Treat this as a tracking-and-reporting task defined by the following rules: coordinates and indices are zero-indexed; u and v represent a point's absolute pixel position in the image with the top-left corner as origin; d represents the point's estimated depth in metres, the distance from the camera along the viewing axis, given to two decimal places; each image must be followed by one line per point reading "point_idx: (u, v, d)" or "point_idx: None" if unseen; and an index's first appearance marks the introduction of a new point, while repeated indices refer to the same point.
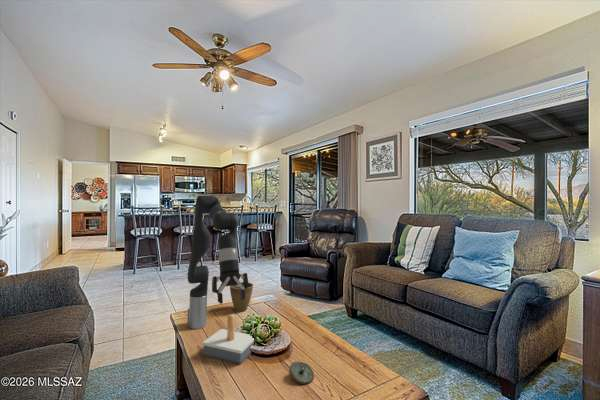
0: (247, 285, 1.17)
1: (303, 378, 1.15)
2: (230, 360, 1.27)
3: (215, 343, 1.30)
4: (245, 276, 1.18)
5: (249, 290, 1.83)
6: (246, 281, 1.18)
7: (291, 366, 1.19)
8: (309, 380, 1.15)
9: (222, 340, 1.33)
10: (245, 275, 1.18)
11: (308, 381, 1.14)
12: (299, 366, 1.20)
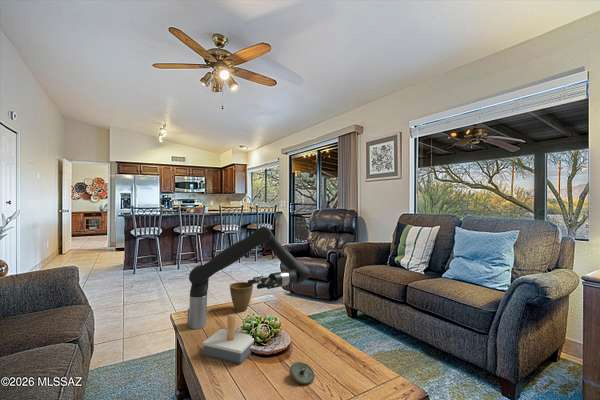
0: None
1: (304, 379, 1.15)
2: (230, 360, 1.27)
3: (215, 343, 1.30)
4: None
5: (249, 290, 1.83)
6: None
7: (291, 367, 1.18)
8: (310, 381, 1.14)
9: (222, 340, 1.33)
10: None
11: (309, 382, 1.14)
12: (299, 367, 1.20)
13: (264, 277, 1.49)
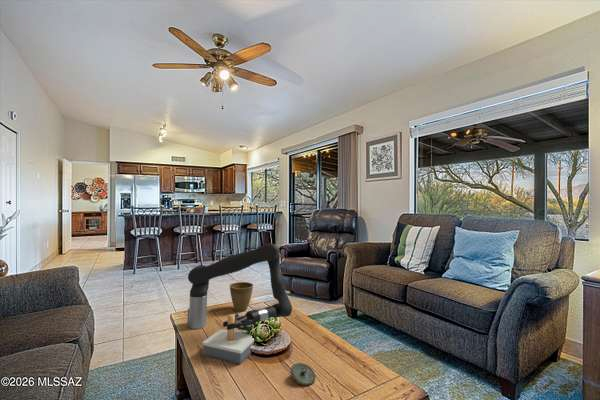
0: None
1: (305, 380, 1.14)
2: (230, 360, 1.27)
3: (215, 343, 1.30)
4: None
5: (249, 290, 1.83)
6: None
7: (292, 368, 1.18)
8: (311, 382, 1.14)
9: (222, 340, 1.33)
10: None
11: (310, 383, 1.13)
12: (300, 368, 1.19)
13: (241, 316, 1.40)
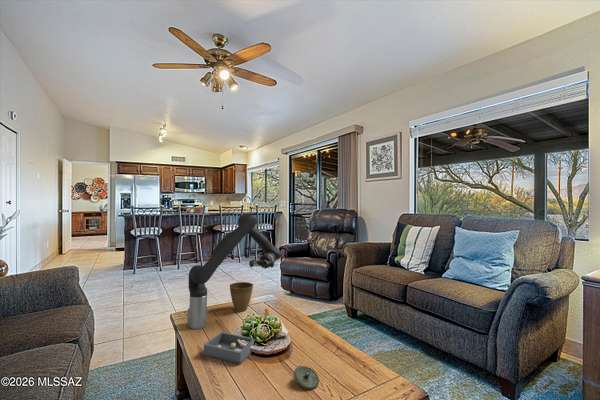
0: None
1: (308, 383, 1.12)
2: (230, 360, 1.27)
3: None
4: None
5: (249, 290, 1.83)
6: None
7: (295, 371, 1.15)
8: (314, 385, 1.12)
9: None
10: None
11: (314, 386, 1.11)
12: (303, 371, 1.17)
13: (259, 259, 1.72)
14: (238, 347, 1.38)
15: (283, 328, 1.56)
